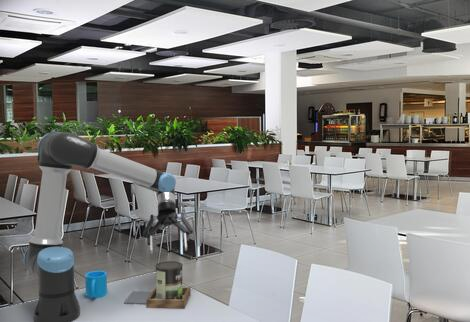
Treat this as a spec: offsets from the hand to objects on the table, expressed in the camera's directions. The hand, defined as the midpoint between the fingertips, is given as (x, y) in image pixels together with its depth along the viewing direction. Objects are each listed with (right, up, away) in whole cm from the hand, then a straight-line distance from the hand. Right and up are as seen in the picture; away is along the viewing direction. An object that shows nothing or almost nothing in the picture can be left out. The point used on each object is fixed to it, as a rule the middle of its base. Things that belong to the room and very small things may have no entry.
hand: (168, 250), depth 181 cm
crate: (+1, -18, -7) cm, 19 cm away
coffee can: (+1, -18, -7) cm, 19 cm away
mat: (-11, -18, -4) cm, 21 cm away
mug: (-29, -18, -2) cm, 34 cm away
